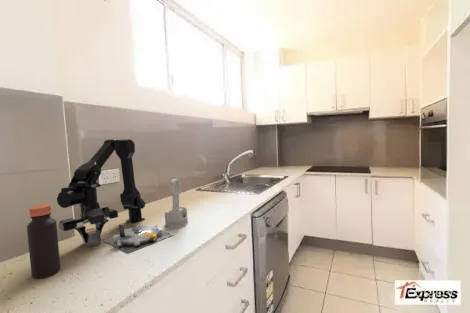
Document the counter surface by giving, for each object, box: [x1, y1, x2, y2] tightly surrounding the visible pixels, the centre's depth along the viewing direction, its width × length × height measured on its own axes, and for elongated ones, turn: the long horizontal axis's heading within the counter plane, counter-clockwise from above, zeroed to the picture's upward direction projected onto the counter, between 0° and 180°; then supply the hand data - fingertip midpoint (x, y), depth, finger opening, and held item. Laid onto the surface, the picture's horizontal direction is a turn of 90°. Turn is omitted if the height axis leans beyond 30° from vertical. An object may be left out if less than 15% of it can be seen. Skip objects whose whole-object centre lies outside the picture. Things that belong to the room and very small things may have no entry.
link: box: [82, 227, 102, 248], centre depth 93 cm, size 6×4×5 cm, turn 51°
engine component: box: [164, 178, 189, 228], centre depth 112 cm, size 11×20×10 cm
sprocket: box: [113, 223, 163, 246], centre depth 96 cm, size 18×18×6 cm
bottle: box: [26, 204, 61, 280], centre depth 71 cm, size 7×7×20 cm
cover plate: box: [103, 230, 174, 254], centre depth 96 cm, size 19×19×1 cm
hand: (92, 240), depth 93 cm, fingers closed on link, 4 cm apart
